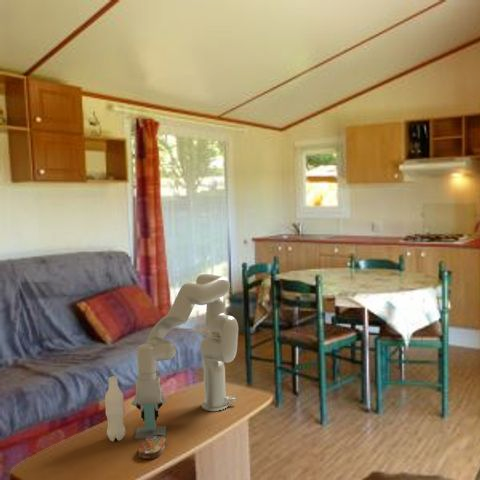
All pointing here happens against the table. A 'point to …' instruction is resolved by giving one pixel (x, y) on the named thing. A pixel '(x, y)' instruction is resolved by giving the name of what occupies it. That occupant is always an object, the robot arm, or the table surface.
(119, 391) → the water bottle
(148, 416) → the stick
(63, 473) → the table surface
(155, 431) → the mat
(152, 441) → the tin
